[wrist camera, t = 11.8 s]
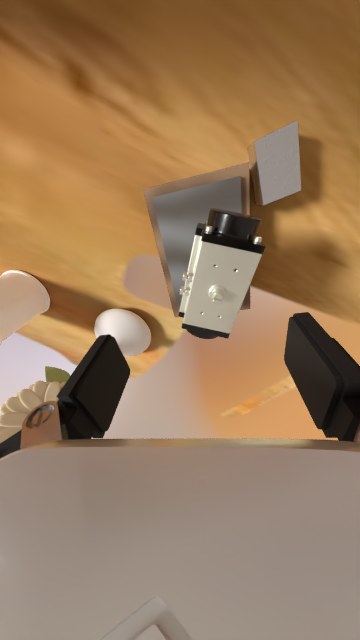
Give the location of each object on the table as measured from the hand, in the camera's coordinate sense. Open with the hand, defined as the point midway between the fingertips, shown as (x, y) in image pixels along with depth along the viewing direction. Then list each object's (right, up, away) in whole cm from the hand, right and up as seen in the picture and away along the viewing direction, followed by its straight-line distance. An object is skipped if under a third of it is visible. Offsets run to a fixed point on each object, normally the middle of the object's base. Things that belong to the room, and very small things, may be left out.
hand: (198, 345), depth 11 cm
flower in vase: (-13, 0, +29) cm, 32 cm away
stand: (+3, +12, +19) cm, 23 cm away
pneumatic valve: (+3, +10, +15) cm, 18 cm away
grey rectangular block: (+10, +20, +13) cm, 26 cm away
